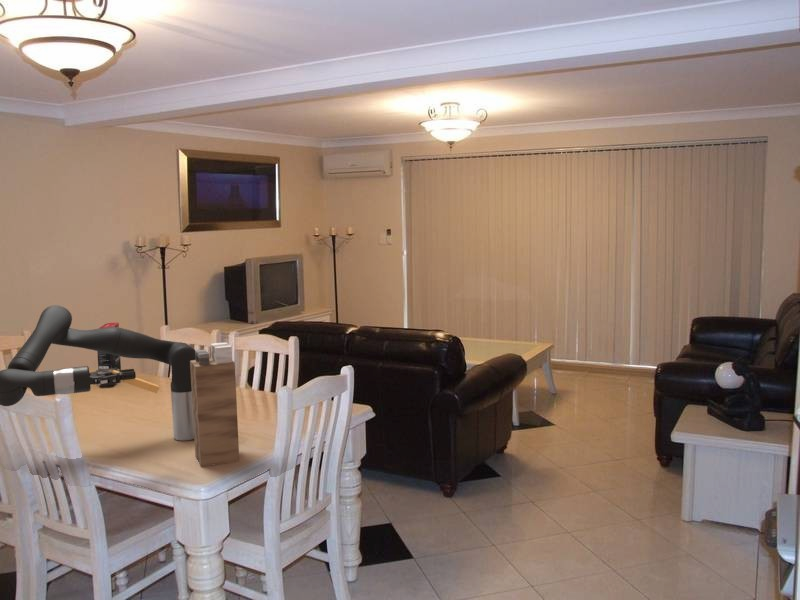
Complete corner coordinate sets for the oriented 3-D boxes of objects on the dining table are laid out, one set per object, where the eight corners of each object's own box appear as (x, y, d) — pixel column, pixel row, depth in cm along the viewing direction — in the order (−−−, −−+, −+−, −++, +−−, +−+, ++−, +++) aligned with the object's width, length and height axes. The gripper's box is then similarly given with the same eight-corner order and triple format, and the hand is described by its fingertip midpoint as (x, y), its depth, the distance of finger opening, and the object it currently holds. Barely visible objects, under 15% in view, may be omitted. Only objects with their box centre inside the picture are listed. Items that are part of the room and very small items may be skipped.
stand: (195, 456, 227) (189, 345, 222) (232, 450, 232) (227, 341, 227) (200, 467, 218) (194, 350, 213) (239, 460, 223) (234, 346, 218)
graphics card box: (107, 379, 332) (103, 322, 328) (123, 378, 333) (119, 322, 329) (99, 388, 315) (94, 329, 311) (115, 387, 316) (111, 328, 312)
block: (110, 375, 210) (113, 369, 210) (155, 391, 216) (158, 385, 216) (111, 377, 207) (114, 371, 207) (156, 393, 213) (159, 387, 213)
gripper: (72, 387, 210) (133, 380, 218) (73, 398, 198) (138, 391, 205) (70, 363, 209) (132, 356, 217) (71, 372, 197) (136, 366, 204)
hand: (134, 373), depth 211 cm, fingers closed on block, 3 cm apart
